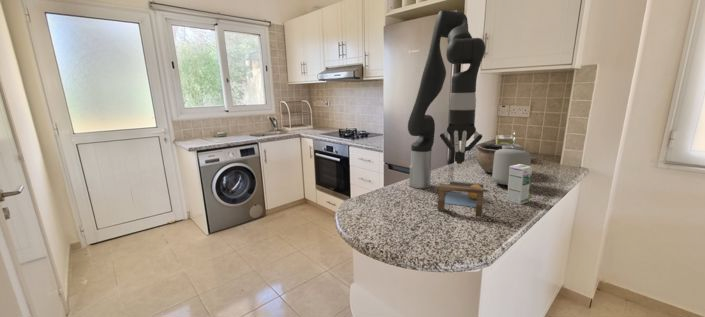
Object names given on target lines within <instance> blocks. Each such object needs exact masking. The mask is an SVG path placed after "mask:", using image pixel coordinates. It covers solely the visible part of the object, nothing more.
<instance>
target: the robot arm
mask: <svg viewBox="0 0 705 317" xmlns="http://www.w3.org/2000/svg"><path fill="white" fill-rule="evenodd" d="M431 37H432V38H431V41H430V44H429V46H430V47H429V50H428V55H427V59H426V61H425V66H424V68H423V71H422V76H421V80H420V84H419V89H418V91H417V94H416V98H415V102H414V105H413V106H412V110H411V113H410V114H409V118H408V122H407V132H408V134H409V135H410V136H412V137H418V139H417V140H415V142H412V144H411V146H410V148H411V149H410V150H411V151H410V166H409V187H412V188H415V189H423V190H424V189H428V188H431V184H432V182H431V181H432V157H433V156H432V151H433V145H434V141H435V134H436V133H435V131H436V130H435V129H436V122H435V119H434V117H433V116H432V115H430V114H426V113H427V111H428V109H429V107H430V105H431V104H432V103H433V102H434V101H435V99H436V98H437V97H438V95H439V94H440V93H441V92H442V89H443V87H444V83H445V81H446V77H447V68H446V66H445V63H444V59H443V55H442V50H441V39H442V38H446V39H447V47H446V60H447V61H448V63H449V64H452V65H469V67H468V69H466V70H463V71H459V72H455V73H454V74H453V75H452V76H451V82H450V83H451V85H450V98H449V105H448V109H449V111H448V125H447V128H446V130H445V131H443V132H441V133H440V135H439V137H440V139H441V140H442V141H443V143H444V144H445V145H446V147H447V148H448V149H449V151H450V150H451V151H453V152H454V162H456V164H457V165H462V164H463V163H464V161H465V156H466V155H465V154H466V152H469V151H471V150H472V149H473V148H474V147H475V146H477V145H478V143H479V142H480V140H482V138H483V134H481V133H479V132H478V131H477V128H476V126H475V125H476V124H475V122H476V107H477V96H476V95H477V93H476V92H477V79H478V74H479V70H480V67H481V64H482V61H483V58H484V56H485V53H486V44H485V41H484V40H483V38H481V37H473V36H472V34H471V33H470V31H469V23H468V17H467V15H466V14H465V13H463V12H460V11H453V10H447V9H441V10H440V11H439V12H438V14H437V16H436V18H435V21H434V27H433V31H432V36H431ZM449 137H450V139H452V140H453V142H451V140H450V139H449ZM472 137H473V140H472V141H471V142H470V143H469V144H468V145H467V142H468V141H469V140H470V139H471V138H472ZM453 143H454V144H453ZM460 143H461V144H460Z"/></svg>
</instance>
